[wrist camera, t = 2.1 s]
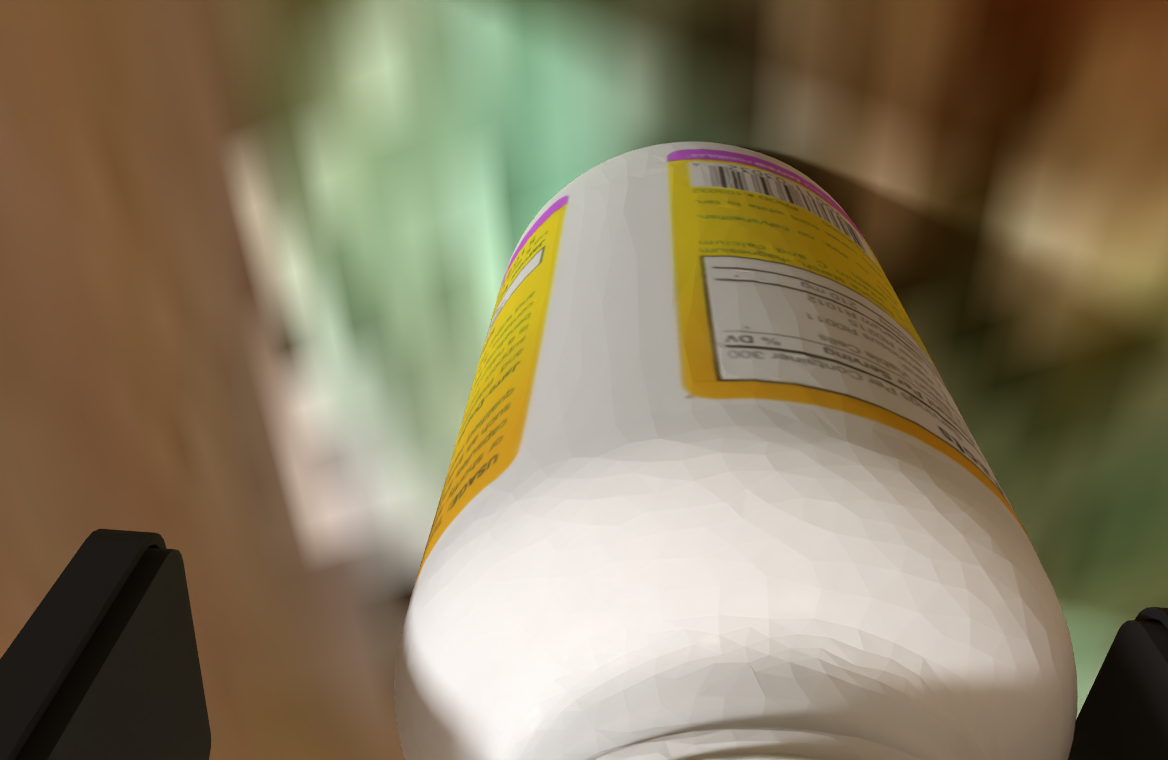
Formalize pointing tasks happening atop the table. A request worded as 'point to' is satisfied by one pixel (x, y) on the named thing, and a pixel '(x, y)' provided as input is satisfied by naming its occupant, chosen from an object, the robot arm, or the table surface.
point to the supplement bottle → (720, 503)
